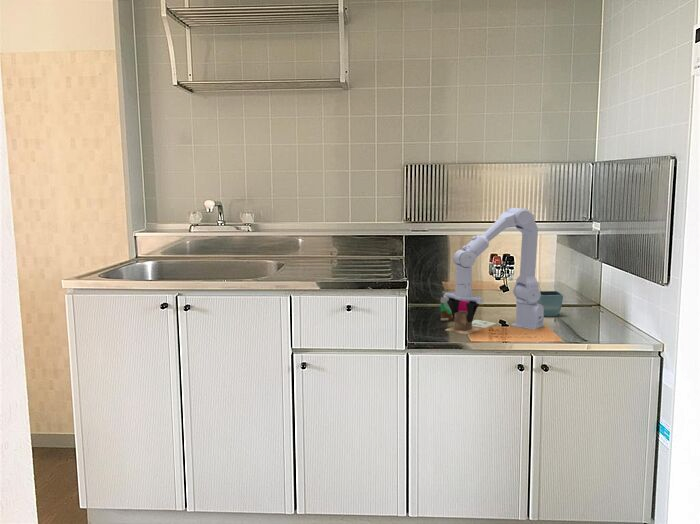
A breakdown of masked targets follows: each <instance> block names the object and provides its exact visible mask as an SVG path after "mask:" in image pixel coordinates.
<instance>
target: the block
mask: <svg viewBox="0 0 700 524" xmlns="http://www.w3.org/2000/svg"><path fill="white" fill-rule="evenodd" d="M453 327H454V329H456V330H461V331H467V330H470V329H472V327H473V326H472V322H468V312H466V311H459V312H456V313H455V320H454V326H453Z"/></svg>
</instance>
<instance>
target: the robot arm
mask: <svg viewBox="0 0 700 524" xmlns="http://www.w3.org/2000/svg"><path fill="white" fill-rule="evenodd" d="M509 228H516V229H517V230H518V231H519V232H520V233H521V249H520V265H519V266H520V268H519V276H518V277H517V278H516V279H515V280H516V282H515V285H514V287H513V290H512V291H513V295H514V297H515V300H516V305H515V306H516V307H515V309H516V310H515V311H516V312H515V322H514V323H511V324H510V325H511V327H516V328H517V327H518V328H524V329H529V330H537V329H540V328H542V327H544V326H545V324H544V318H545V316H544V308H543V305H541V304H538V303H537V301H538V300H539V299H540V296H541V293H540V291H541V290H540V287H539V286H540V283H539V280H538V279H537V278H536V268H537V267H536V265H537V254H538V253H537V251H538V249H537V248H538V234H539V233H538V231H539V228H538V225H537V223H536V221H535V214H534V213H533V212H531V211H530V210H529V209H528V208H520V207H519V208H517V207H513V206H512V207H509V208H507V209H506V210H505V211H504V212H502V213H501V215H500V216H499V217H498V218H497V220H496V221H494V222H493V224H491V226H489V228H488V229H487V230H485V232H483V233H482V234H477V235H474V236H472V237H471V239H472V240H470V241H469V242H468V243H467V244H466V245H463V246H462V249H458V250H457V251H456V252H454V255H453V257H452V261H453V263H454V264H455V274H454V277H455V279H454V281H455V283H454V284H455V285H454V289H455V290H454V292H453V293H445V299H449V300H448V301H447V303H448V305H449V307H450V309H451V312H452V316H453V320H452V321H455V313H456V312H458V309H459V303H460V300H461V301H467V302H470V303H467V304H466V306H467V311H468V322H472V321H474V318H475V314H476V312H477V309H478V307H479V306H480V304H483V297H480V296H477V295H473V294H472V277H473V276H472V275H473V274H472V272H473V270H472V269H473V268H472V267H473V265H474V264H475V263H476V259H477V258H478V257H479V256H480V255H481V254H482V253H484V251H486V250H487V249H488V248H489V247H490V246H489V244H490V241H492V240H493V239H495V237H497V236H498V235H500V233H502V232H503V231H504V230H505V229H509Z"/></svg>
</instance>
